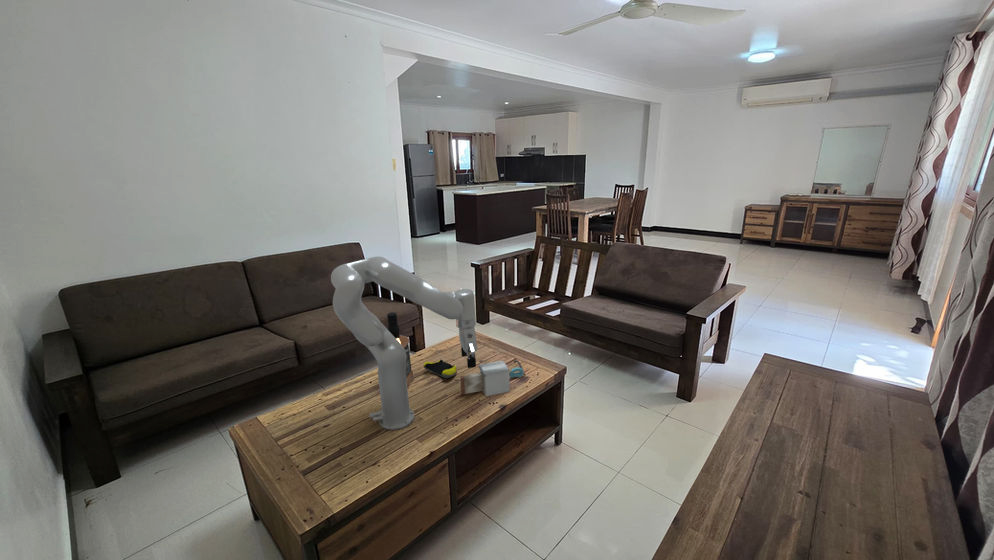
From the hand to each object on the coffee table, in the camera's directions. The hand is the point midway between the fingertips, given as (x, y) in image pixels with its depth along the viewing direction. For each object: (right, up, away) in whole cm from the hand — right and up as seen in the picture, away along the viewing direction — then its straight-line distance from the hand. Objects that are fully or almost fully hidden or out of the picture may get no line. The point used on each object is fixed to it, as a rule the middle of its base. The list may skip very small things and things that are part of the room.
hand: (468, 361), depth 157 cm
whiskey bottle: (-30, -12, +13) cm, 35 cm away
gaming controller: (-13, -10, +20) cm, 26 cm away
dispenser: (+10, -13, +7) cm, 18 cm away
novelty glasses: (+15, -9, +21) cm, 27 cm away
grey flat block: (+5, -12, +5) cm, 14 cm away
